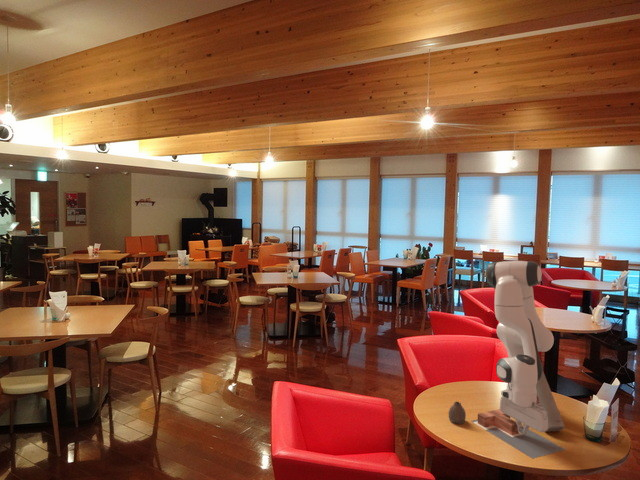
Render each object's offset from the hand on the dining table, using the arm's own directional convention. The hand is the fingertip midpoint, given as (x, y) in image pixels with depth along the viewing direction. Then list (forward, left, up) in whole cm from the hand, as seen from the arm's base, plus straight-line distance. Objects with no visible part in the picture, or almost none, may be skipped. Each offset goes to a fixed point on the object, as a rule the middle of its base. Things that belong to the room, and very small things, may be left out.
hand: (522, 432), depth 178 cm
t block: (+1, -9, -2) cm, 10 cm away
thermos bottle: (-15, +3, 0) cm, 15 cm away
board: (+1, -3, -3) cm, 4 cm away
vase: (+15, -21, -3) cm, 25 cm away
